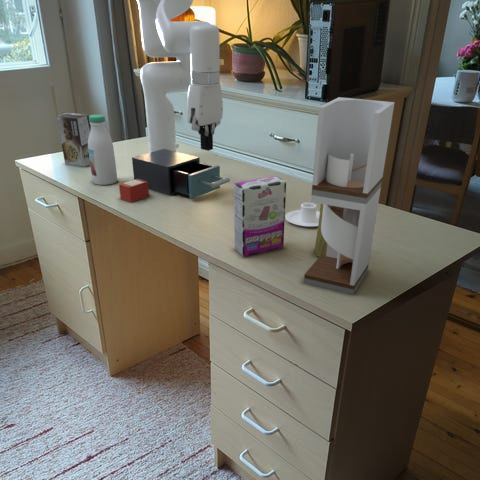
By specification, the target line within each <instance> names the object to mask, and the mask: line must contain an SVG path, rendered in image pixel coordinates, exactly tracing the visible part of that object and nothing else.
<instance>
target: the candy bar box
mask: <svg viewBox="0 0 480 480" xmlns="http://www.w3.org/2000/svg"><path fill="white" fill-rule="evenodd" d="M286 197H287V181H286V180H285V179H282V178H281V177H279V176H277V175H274V176H267V177H262V178H255V179H250V180H244V181H238V182H237V181H236V182H233V212H234V215H233V217H234V218H233V219H234V221H233V222H234V224H233V225H234V250H235V252H237V253H238V254H240V255H241V256H242V257H243V258H247V257H251V256H255V255H258V254H263V253H268V252H272V251H276V250H281V249H284V245H285V244H284V243H285V222H286V218H285V215H286V200H287V199H286Z"/></svg>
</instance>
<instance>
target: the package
mask: <svg viewBox="0 0 480 480" xmlns="http://www.w3.org/2000/svg"><path fill="white" fill-rule="evenodd" d="M118 189H119V197H120V200H122V201H126V202H129V203H134V202H136V201H137V202H138V201H139V200H142V199H145V198H148V197H149V195H150V194H149V193H150V192H149V189H148V182H147V181H143V180H140V179H134V178H133V179H131V180H128V181H125V182H122V183H118Z"/></svg>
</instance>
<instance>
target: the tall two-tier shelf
mask: <svg viewBox="0 0 480 480" xmlns="http://www.w3.org/2000/svg"><path fill="white" fill-rule="evenodd" d="M395 103H396V102H395V101H384V100H373V99H364V98H363V99H361V98H352V97H341V96H338V97H337V98H334V99H332V100H331V101H328V102H326V103H324V104H322V105H321V106H319V107H318V114H317V115H318V116H317V125H316V138H315V148H314V149H315V150H314V161H313V170H312V171H313V172H312V185H311V196H310V197H311V198H310V203H314V204H318V205H319V204H320V205H321V204H323V213H322V222H321V233H322V236H323V238H324V239H325V241H326V242H327V252H326V254H322V255H321V256H320V257H317V259H316V260H315V262H314V263H313V264H312V265H311V266H310V267H309V268H308V269H307V271H306V272H305V273H304V276H303V284H306V285H311V286H315V287H319V288H324V289H326V290H327V289H328V290H331V291H336V292H339V293H345V294H349V295H352V296H353V295H354V293H355V292H356V290H357V289H358V287H359V286H360V284H361V282H362V281H363V279H364V278H365V276H366V275H367V273H368V271H369V263H370V258H371V251H372V247H373V241H374V234H375V226H376V221H377V216H378V215H377V214H378V208H379V202H380V196H381V191H382V190H381V189H382V183H383V177H384V171H385V165H386V158H387V152H388V145H389V139H390V133H391V127H392V121H393V114H394V109H395V108H394V107H395Z"/></svg>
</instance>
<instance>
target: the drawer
mask: <svg viewBox="0 0 480 480" xmlns="http://www.w3.org/2000/svg"><path fill="white" fill-rule="evenodd" d="M220 172H221V166H220V165H219V164H218V165H217V164H216V165H214V166H213V165H211V164H207V163H203V162H200V163H199V162H195V161H194V162H191V163H188V164H185V165H181V166H178V167H175V168H172V169H170V179H171V190H172V191H175V192H178V193H177V194H182V195H186V196H188V197H189V199H192V200H193V199H196V198H198V197H201V196H203V195H207V194H209V193H211V192H214V191H216V190H220V189H221V186H222V185H225V184H227V183H230V181H231V179H230V177H229V176H227V177H222V176H221V173H220Z"/></svg>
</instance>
